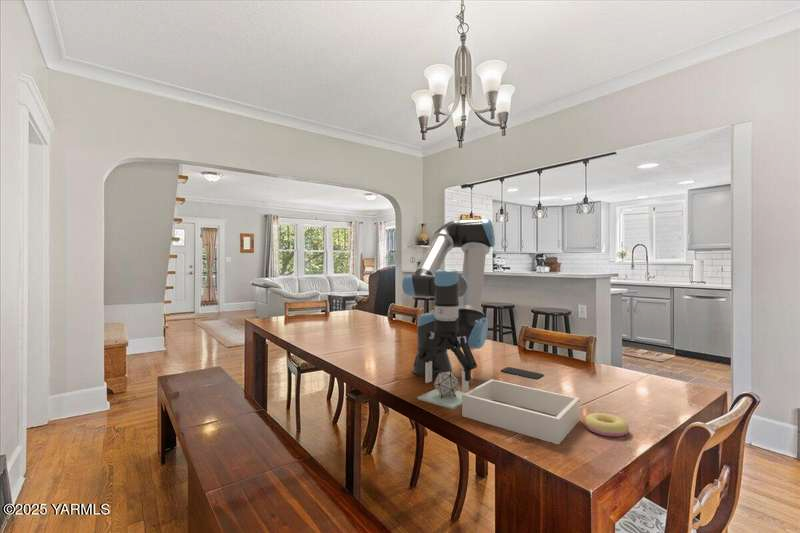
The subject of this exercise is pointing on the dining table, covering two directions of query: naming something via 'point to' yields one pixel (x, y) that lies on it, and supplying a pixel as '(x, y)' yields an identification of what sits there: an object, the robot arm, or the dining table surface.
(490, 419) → the crate
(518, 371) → the phone
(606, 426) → the donut
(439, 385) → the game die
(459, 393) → the mat
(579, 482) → the dining table surface
